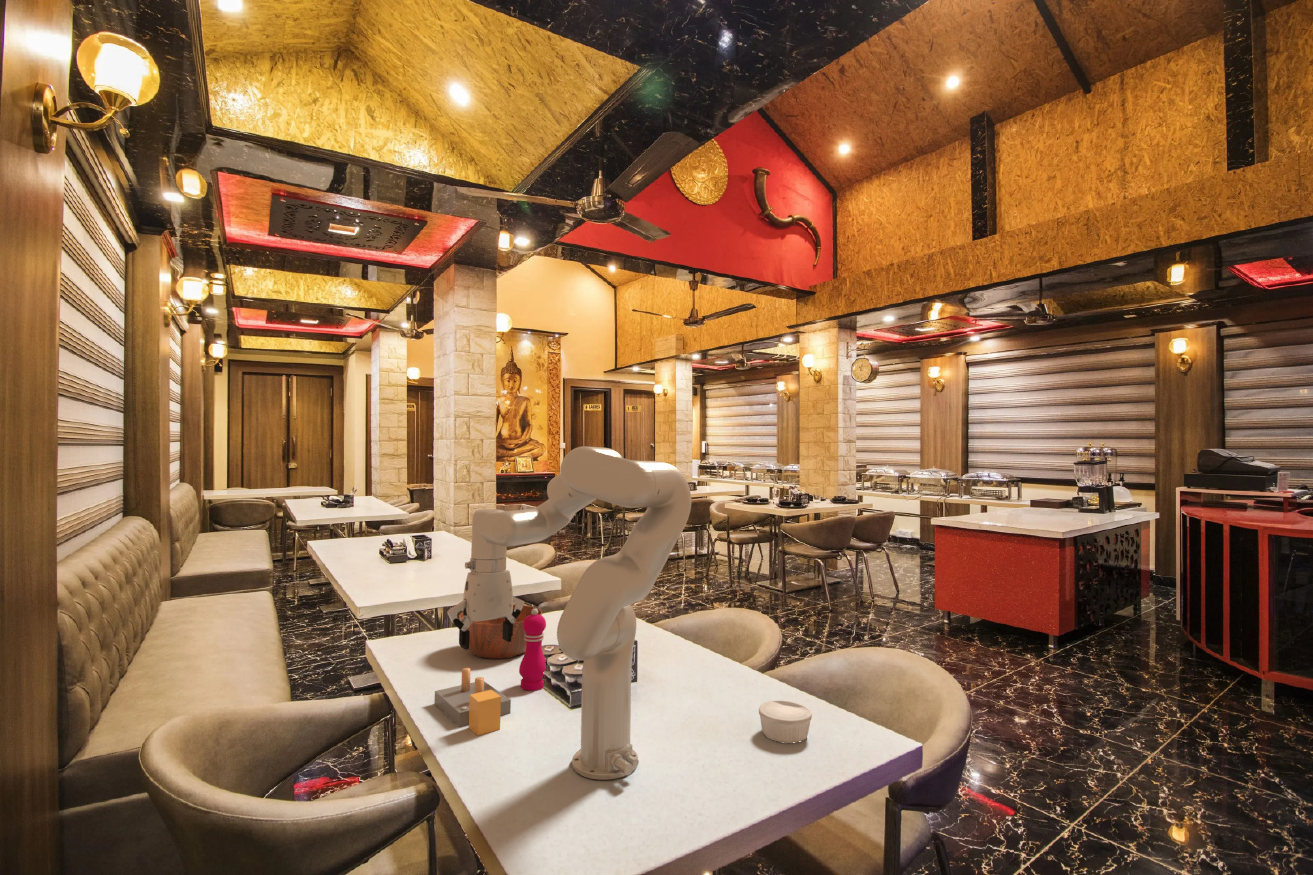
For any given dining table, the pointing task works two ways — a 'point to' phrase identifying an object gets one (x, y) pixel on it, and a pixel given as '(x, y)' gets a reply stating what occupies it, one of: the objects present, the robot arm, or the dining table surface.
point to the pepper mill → (533, 652)
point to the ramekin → (785, 721)
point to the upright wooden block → (484, 712)
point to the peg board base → (465, 698)
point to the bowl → (498, 636)
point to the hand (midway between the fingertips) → (486, 644)
